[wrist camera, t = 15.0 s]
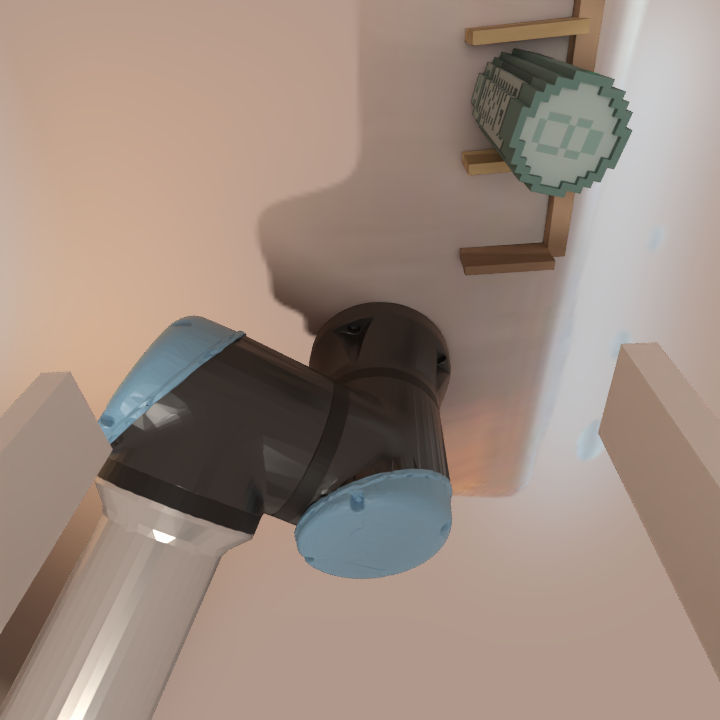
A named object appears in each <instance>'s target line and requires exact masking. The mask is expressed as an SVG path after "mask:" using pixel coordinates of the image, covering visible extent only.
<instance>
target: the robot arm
mask: <svg viewBox="0 0 720 720" xmlns="http://www.w3.org/2000/svg"><path fill="white" fill-rule="evenodd" d="M450 371H451V366H450V358H449V352H448V348H447V344H446V342H445V339H444V337H443V335H442V334H441V332H440V331H439V329H438V328H437V327H436V326H435V325H434V324H433V323H432V322H431V321H430V320H429V319H428V318H426V317H425V316H424V315H422V314H420V313H419V312H417V311H415V310H412V309H410V308H407V307H404V306H401V305H397V304H391V303H368V304H362V305H358V306H354V307H352V308H349V309H347V310H344V311H342V312H340V313H339V314H337V315H336V316H334V317H333V318H331V319H330V320H329V321H328V322H327V323H326V324H325V325H324V326H323V327H322V329H321V330H320V331H319V333H318V335H317V336H316V338H315V341H314V343H313V347H312V352H311V356H310V361H309V367H308V366H306V365H304V364H302V363H300V362H298V361H295V360H294V359H291V358H289V357H287V356H285V355H283V354H281V353H279V352H277V351H275V350H273V349H271V348H269V347H267V346H265V345H263V344H261V343H259V342H257V341H255V340H253V339H251V338H249V337H247V336H246V334H245V333H244V332H242V331H238V332H236V331H234V330H232V329H229V328H227V327H225V326H222V325H220V324H217V323H215V322H213V321H210V320H208V319H206V318H203V317H199V316H188V317H184V318H181V319H179V320H177V321H175V322H174V323H172V324H171V325H170V326H169V327H168V328H167V329H166V330H165V331H164V332H163V333H162V334H161V335H160V336H159V337H158V338H157V339H156V340H155V341H154V343H152V345H151V346H150V347H149V348H148V349H147V351H146V352H145V353H144V354H143V355H142V357H141V358H140V359H139V361H138V362H137V363H136V364H135V366H134V367H133V368H132V370H131V371H130V372H129V374H128V375H127V376H126V378H125V379H124V381H123V382H122V383H121V385H120V386H119V388H118V389H117V390H116V392H115V393H114V395H113V397H112V398H111V400H110V401H109V403H108V404H107V407H106V410H105V411H104V412H103V414H102V416H101V417H100V419H99V420H98V421H97V420H96V418H95V416H94V414H93V412H92V411H91V409H90V407H89V405H88V403H87V401H86V400H85V398H84V396H83V394H82V392H81V390H80V389H79V387H78V385H77V383H76V381H75V380H74V378H73V376H72V374H71V372H52V373H41V374H40V375H39V376H38V377H37V378H36V379H35V381H34V382H33V383H32V384H31V385H30V386H29V387H28V388H27V389H26V390H25V391H24V392H23V393H22V394H21V395H20V397H19V398H18V399H17V400H16V401H15V402H14V403H13V404H12V405H11V406H10V407H9V409H7V411H6V412H5V413H4V414H3V415H2V416H1V417H0V633H1V632H2V630H3V629H4V627H5V625H6V624H7V622H8V620H9V619H10V617H11V615H12V614H13V612H14V611H15V609H16V607H17V606H18V604H19V602H20V601H21V599H22V597H23V596H24V594H25V593H26V591H27V589H28V588H29V586H30V584H31V583H32V581H33V579H34V578H35V576H36V575H37V573H38V571H39V569H40V568H41V566H42V565H43V563H44V561H45V560H46V558H47V557H48V555H49V553H50V552H51V550H52V548H53V547H54V545H55V543H56V542H57V540H58V539H59V537H60V535H61V533H62V532H63V530H64V529H65V527H66V525H67V524H68V522H69V520H70V519H71V517H72V515H73V514H74V512H75V511H76V509H77V507H78V506H79V504H80V502H81V501H82V499H83V498H84V496H85V494H86V493H87V491H88V489H89V488H90V486H91V485H92V483H93V481H95V484H96V487H97V489H98V492H99V495H100V498H101V501H102V503H103V514H102V515H101V517H100V519H99V521H98V523H97V525H96V527H95V529H94V531H93V533H92V534H91V537H90V538H89V540H88V542H87V544H86V546H85V548H84V550H83V552H82V553H81V556H80V557H79V559H78V561H77V563H76V565H75V567H74V569H73V571H72V573H71V574H70V576H69V578H68V580H67V582H66V584H65V586H64V588H63V590H62V592H61V594H60V595H59V597H58V599H57V601H56V603H55V605H54V607H53V609H52V611H51V613H50V615H49V616H48V618H47V620H46V622H45V624H44V626H43V628H42V630H41V632H40V634H39V636H38V637H37V639H36V642H35V643H34V645H33V647H32V649H31V651H30V653H29V655H28V657H27V658H26V660H25V663H24V664H23V666H22V668H21V670H20V672H19V674H18V676H17V677H16V679H15V681H14V683H13V685H12V687H11V689H10V691H9V693H8V695H7V697H6V698H5V700H4V703H3V704H2V706H1V708H0V720H151V719H152V716H153V714H154V712H155V709H156V707H157V705H158V703H159V700H160V698H161V696H162V693H163V691H164V689H165V686H166V684H167V682H168V679H169V677H170V675H171V673H172V670H173V668H174V666H175V663H176V661H177V659H178V656H179V654H180V652H181V649H182V647H183V645H184V642H185V640H186V638H187V635H188V633H189V631H190V629H191V626H192V624H193V622H194V619H195V617H196V614H197V612H198V610H199V608H200V605H201V603H202V601H203V598H204V596H205V594H206V592H207V589H208V587H209V585H210V582H211V580H212V577H213V575H214V573H215V571H216V568H217V566H218V564H219V561H220V559H221V557H222V555H224V554H225V553H226V552H227V551H228V550H229V549H232V548H233V547H236V546H238V545H240V544H242V543H244V542H247V541H249V540H251V539H252V538H253V536H254V533H255V531H256V529H257V526H258V524H259V521H260V519H261V517H262V515H263V514H264V513H265V514H268V515H270V516H273V517H276V518H278V519H281V520H283V521H286V522H288V523H291V524H294V525H296V526H297V527H296V528H295V532H294V533H295V539H296V542H297V547H298V551H299V553H300V554H301V555H302V556H304V558H305V561H306V562H307V563H308V564H310V565H311V566H312V567H314V568H316V569H318V570H320V571H322V572H324V573H327V574H330V575H334V576H339V577H345V578H356V579H368V578H378V577H385V576H388V575H394V574H398V573H402V572H405V571H408V570H410V569H412V568H415V567H417V566H419V565H421V564H422V563H424V562H425V561H427V560H429V559H430V558H431V557H433V556H434V555H435V554H436V553H437V552H438V551H439V550H440V549H441V548H442V546H443V545H444V543H445V542H446V540H447V538H448V536H449V533H450V530H451V524H452V515H451V497H452V488H451V484H450V478H449V471H448V465H447V458H446V452H445V445H444V439H443V432H442V425H441V419H440V412H439V409H440V406H441V404H442V401H443V398H444V395H445V393H446V390H447V387H448V384H449V380H450ZM598 433H599V435H600V437H601V440H602V442H603V444H604V446H605V448H606V450H607V452H608V454H609V456H610V458H611V459H612V462H613V464H614V466H615V468H616V470H617V472H618V474H619V476H620V478H621V480H622V482H623V484H624V486H625V489H626V490H627V493H628V494H629V497H630V499H631V501H632V503H633V505H634V507H635V509H636V511H637V513H638V515H639V517H640V519H641V521H642V523H643V525H644V527H645V529H646V531H647V533H648V535H649V538H650V540H651V542H652V544H653V546H654V548H655V550H656V552H657V554H658V556H659V558H660V560H661V562H662V564H663V566H664V568H665V570H666V572H667V574H668V576H669V578H670V580H671V582H672V584H673V587H674V589H675V591H676V593H677V595H678V597H679V599H680V601H681V603H682V605H683V607H684V609H685V611H686V613H687V615H688V617H689V619H690V621H691V623H692V625H693V627H694V629H695V631H696V633H697V635H698V637H699V640H700V642H701V644H702V646H703V648H704V650H705V652H706V654H707V656H708V658H709V660H710V662H711V664H712V666H713V668H714V670H715V672H716V674H717V676H718V678H719V680H720V421H719V420H718V418H717V417H716V416H715V415H714V413H713V412H712V411H711V410H710V408H709V407H708V406H707V404H706V403H705V402H704V401H703V399H702V398H701V397H700V396H699V395H698V393H697V392H696V391H695V390H694V388H693V387H692V386H691V384H690V383H689V382H688V381H687V379H686V378H685V377H684V375H683V374H682V373H681V372H680V370H679V369H678V368H677V367H676V365H675V364H674V363H673V362H672V360H671V359H670V358H669V357H668V355H667V354H666V353H665V352H664V350H663V349H662V348H661V347H660V345H659V344H658V343H657V342H655V343H636V344H621V348H620V352H619V356H618V359H617V363H616V367H615V371H614V375H613V379H612V383H611V387H610V390H609V394H608V398H607V401H606V406H605V409H604V413H603V417H602V421H601V424H600V428H599V432H598Z"/></svg>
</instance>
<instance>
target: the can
mask: <svg viewBox="0 0 720 720" xmlns="http://www.w3.org/2000/svg"><path fill="white" fill-rule="evenodd" d="M614 80H615V79H612V78H609V77H606V76H603V75H600V74H597V73H594V72H591V71H588V70H586V69H583V68H580V67H577V66H574V65H571V64H568V63H565V62H562V61H559V60H556V59H553V58H550V57H547V56H544V55H541V54H538V53H533V52H529V51H524V50H520V49H516V48H514V49H513V53H512V54H508V53H504V52H501V56H500V58H496V57H494V61H493V63H490V62H487V66H486V69H485V73H484V74H481V73H479V75H478V78H477V82H476V85H475V89H474V92H473V96H472V99H471V103H472V104H473V105H474V106H475V107H474V111H473V115H474V117H475V118H476V122H477V123H478V124H479V128H480V129H481V130H482V132H483V133H484V134H485V136H486V137H487V138H488V140H489V141H490V142H491V144H492V145H493V146H494V148H495V149H496V151H497V152H498V153H499V155H500V156H501V157H502V159H503V160H504V161H505V163H506V164H507V165H508V167H509V168H510V169H511V171H512V172H513V173H514V175H515V176H516V177H517V179H518V180H519V181H521V182H524V184H525V185H526V186H527V188H528V189H529V190H530V191H532V192H537V193H542V194H547V195H552V196H557V197H562V198H564V196H565V194H566V192H567V191H569V192H574V193H579V194H580V193H581V191H582V189H583V187H587V188H591V185H592V183H593V181H596V182H601V180H602V178H603V176H604V173H605V171H606V169H607V168H611V169H614V168H615V166H616V164H617V162H618V160H619V158H620V156H621V153H622V151H623V149H624V147H625V145H626V143H627V141H628V139H629V136H630V134H631V132H632V130H631V129H629V128H627V127H626V126H627V124H628V122H629V119H630V117H631V115H632V113H633V112H631V111H629V110H627V109H626V108H627V106H628V104H629V102H628V101H626V100H623V97H624V95H625V93H626V92H625V91H623V90H620V89H617V88H615V87H612V85H613V82H614Z"/></svg>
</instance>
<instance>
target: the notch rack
mask: <svg viewBox="0 0 720 720" xmlns="http://www.w3.org/2000/svg"><path fill="white" fill-rule="evenodd" d="M604 4H605V0H574V8H573V16H572V17H567V18H558V19H549V20H540V21H531V22H522V23H513V24H504V25H495V26H486V27H476V28H467V29H466V30H465V42H467V43H469V44H471V45H482V44H491V43H500V42H510V41H519V40H528V39H538V38H547V37H556V36H566V35H570V39H569V47H568V55H567V62H566V63H568V64H571V65H574V66H577V67H580V68H583V69H586V70H588V71H591V72H594V67H595V61H596V55H597V48H598V42H599V36H600V29H601V23H602V17H603V10H604ZM462 162H463V165H464V167H465V169H466V171H467V173H468V175H478V174H490V173H502V172H512V171H511V169H510V168H509V167H508V165H507V164H506V163H505V161H504V160H503V159H502V157H501V156H500V155H499V153H498V152H497V151H496V149H489V150H478V151H467V152H462ZM574 194H575V193H574V192H569V191H567V192H566V194H565V196H564V198H562V197H557V196H552V195H549V202H548V210H547V218H546V226H545V233H544V241H543V243H530V244H516V245H502V246H487V247H473V248H460V259H461V262H462V266H463V269H464V273H465V275H477V274H493V273H508V272H523V271H538V270H554V266H555V260H554V258H553V257H560V256H565V251H566V245H567V238H568V232H569V226H570V219H571V213H572V207H573V200H574Z"/></svg>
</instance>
